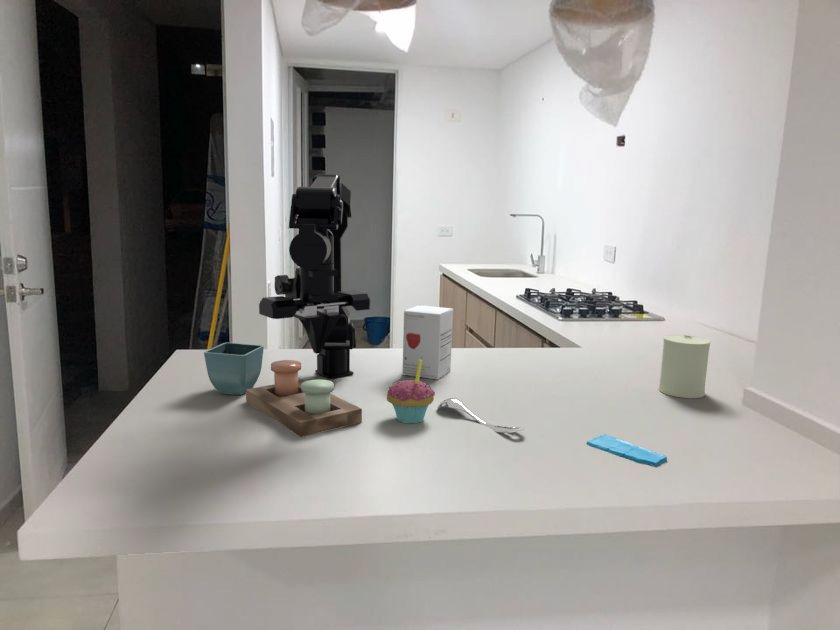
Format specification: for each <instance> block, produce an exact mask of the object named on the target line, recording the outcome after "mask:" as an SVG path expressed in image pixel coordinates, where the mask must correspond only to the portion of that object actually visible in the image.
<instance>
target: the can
mask: <svg viewBox="0 0 840 630" xmlns="http://www.w3.org/2000/svg"><path fill="white" fill-rule="evenodd" d="M662 343H663V344H662V356H661V364H660V365H661V367H660V368H661V369H660V377H659V385H658V387H657V389H658V391H659V392H661V393H662V394H665V395H667V396H671V397H676V398H682V399H700V398H703V397H705V395H706V392H705V391H706V382H707V381H706V379H707V372H708V363H709V361H708V360H709V354H710V345H711V341H710V340H709V339H707V338H704V337H699V336H695V335H689V334H688V335H687V334H669V335H665V336H663V342H662Z"/></svg>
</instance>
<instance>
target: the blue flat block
mask: <svg viewBox="0 0 840 630" xmlns="http://www.w3.org/2000/svg"><path fill="white" fill-rule="evenodd" d="M586 445H588V446H589V447H591V448H595V449H597V450H598V449H599V450H601V451H604V452H607V453H609V454H612V455H616V456H617V457H622V458H625V459H629V460H631V461H634V462H637V463H640V464H646V465H650V466H654V467H657V466H659V465H661V464H663V463H664V462H667V460H668V457H667V456H666V455H665V454H662V453H661V452H660V453H659V452H654V451H653V450H650V449H649V448H648V449H647V448H644V447H642V446H639V445H636V444H634V443H631V442H629V441H625V440H623V439H620V438H616V437H615V436H612V435H608V434H602V435H598V436H596V437H594V438H591V439H590V440H588V441H586Z"/></svg>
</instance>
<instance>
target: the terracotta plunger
mask: <svg viewBox="0 0 840 630" xmlns="http://www.w3.org/2000/svg"><path fill="white" fill-rule="evenodd" d="M301 369H302V363H301V362H300V361H299V360H294V359H293V360H292V359H283V360H277V361H273V362H272V363H270V370H271V371H272V372H273V374H274V375H273V376H274V378H273V380H274V382H273V383H274V384H275V395H276V396H277V397H284V396H289V395H294V394H298V380H299V371H301Z"/></svg>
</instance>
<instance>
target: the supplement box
mask: <svg viewBox="0 0 840 630" xmlns="http://www.w3.org/2000/svg"><path fill="white" fill-rule="evenodd" d="M453 321H454V308H451V307H441V306H433V305H431V306H430V305H421V304H419V305H418V304H417V305H415V306H414V307H410V308H407V309H405V310H404V311H403V335H402V336H403V340H402V341H403V344H402V346H403V347H402V375H403V376H410V377H416V373H417V368H418V362H419V360H420V359H421V356H423V357H422V366H421V372H420V377H419V378H422V379H432V380H439V379H441V378H442V377H444V376H445V375H446V374H447V373H449V372H450V371H451V370H452V369H451V367H452V365H451V363H452V346H453V345H452V343H453V341H452V340H453V325H454V324H453Z"/></svg>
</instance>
